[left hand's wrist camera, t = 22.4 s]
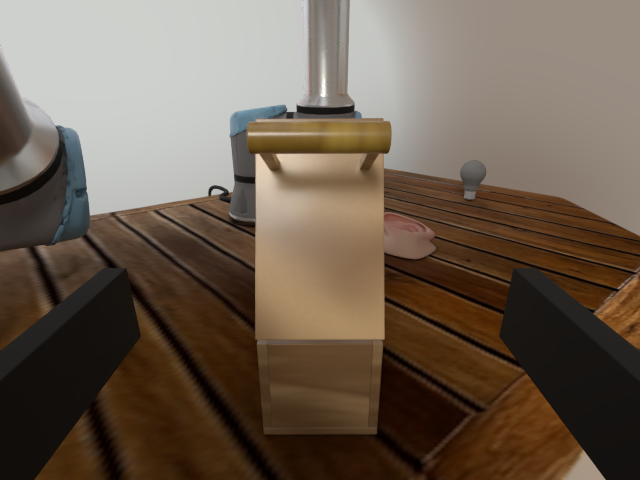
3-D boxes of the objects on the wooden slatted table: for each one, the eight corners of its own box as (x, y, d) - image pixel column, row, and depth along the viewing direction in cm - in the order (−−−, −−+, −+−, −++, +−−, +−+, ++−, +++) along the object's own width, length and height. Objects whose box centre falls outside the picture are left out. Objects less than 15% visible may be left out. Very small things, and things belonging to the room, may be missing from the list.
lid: (257, 122, 27) (229, 68, 19) (381, 122, 27) (407, 68, 19) (257, 337, 26) (229, 376, 18) (382, 336, 26) (409, 376, 18)
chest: (281, 327, 43) (278, 259, 40) (358, 326, 43) (361, 259, 40) (263, 434, 29) (256, 344, 26) (376, 434, 29) (383, 343, 26)
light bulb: (460, 202, 93) (466, 162, 89) (454, 196, 98) (459, 158, 95) (485, 202, 92) (491, 162, 89) (477, 196, 98) (483, 158, 94)
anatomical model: (436, 239, 58) (364, 231, 61) (433, 262, 59) (363, 253, 63) (441, 215, 69) (380, 209, 73) (438, 235, 71) (379, 228, 74)
